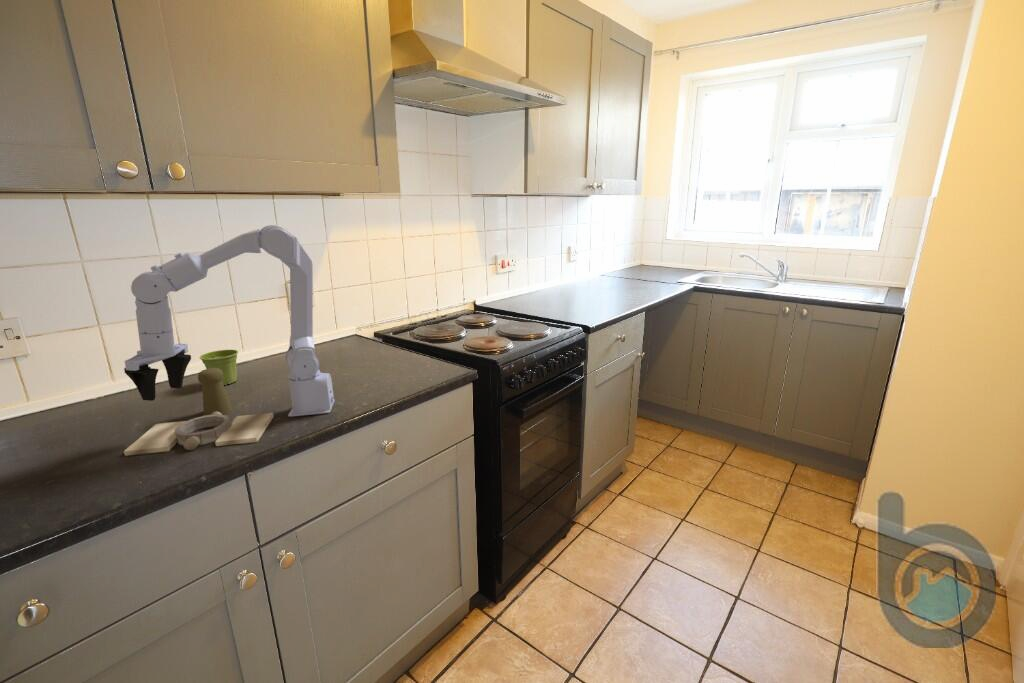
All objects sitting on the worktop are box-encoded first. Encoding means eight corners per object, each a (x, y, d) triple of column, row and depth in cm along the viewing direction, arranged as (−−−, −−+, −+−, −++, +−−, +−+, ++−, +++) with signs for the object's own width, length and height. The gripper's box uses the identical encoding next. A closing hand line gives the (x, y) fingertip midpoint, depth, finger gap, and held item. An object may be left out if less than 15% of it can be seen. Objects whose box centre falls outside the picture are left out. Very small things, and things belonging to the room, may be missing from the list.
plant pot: (204, 382, 138) (197, 353, 136) (240, 374, 144) (235, 347, 141) (207, 391, 131) (201, 361, 129) (245, 383, 136) (240, 354, 134)
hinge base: (274, 415, 115) (273, 405, 114) (256, 443, 101) (254, 432, 101) (158, 426, 110) (156, 416, 110) (122, 457, 97) (119, 446, 96)
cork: (204, 419, 114) (195, 375, 111) (202, 410, 118) (193, 368, 115) (233, 412, 117) (225, 370, 114) (230, 404, 122) (222, 363, 119)
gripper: (163, 323, 106) (170, 381, 109) (106, 337, 91) (115, 404, 95) (194, 325, 105) (200, 383, 108) (141, 339, 91) (150, 406, 94)
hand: (162, 393), depth 101 cm, fingers open, 7 cm apart
